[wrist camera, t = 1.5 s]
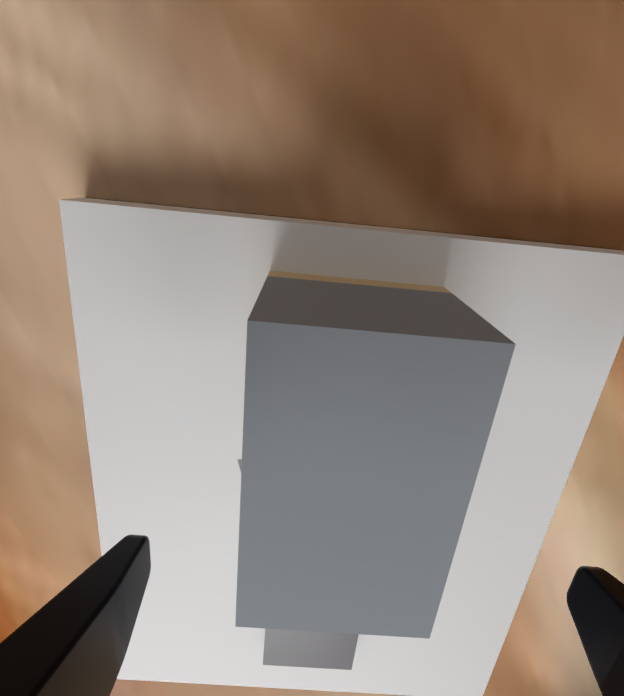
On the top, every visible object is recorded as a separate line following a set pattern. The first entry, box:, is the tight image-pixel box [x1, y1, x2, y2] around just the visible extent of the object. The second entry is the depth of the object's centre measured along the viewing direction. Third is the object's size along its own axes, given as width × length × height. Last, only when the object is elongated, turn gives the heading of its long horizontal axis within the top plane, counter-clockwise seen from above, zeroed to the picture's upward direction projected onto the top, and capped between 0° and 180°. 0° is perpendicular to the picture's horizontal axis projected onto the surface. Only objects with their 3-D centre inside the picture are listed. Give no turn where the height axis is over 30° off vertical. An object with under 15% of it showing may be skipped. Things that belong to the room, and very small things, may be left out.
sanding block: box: [235, 271, 516, 639], centre depth 13 cm, size 9×6×5 cm, turn 175°
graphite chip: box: [263, 629, 359, 670], centre depth 19 cm, size 4×4×1 cm
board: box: [59, 198, 624, 696], centre depth 17 cm, size 22×18×2 cm
